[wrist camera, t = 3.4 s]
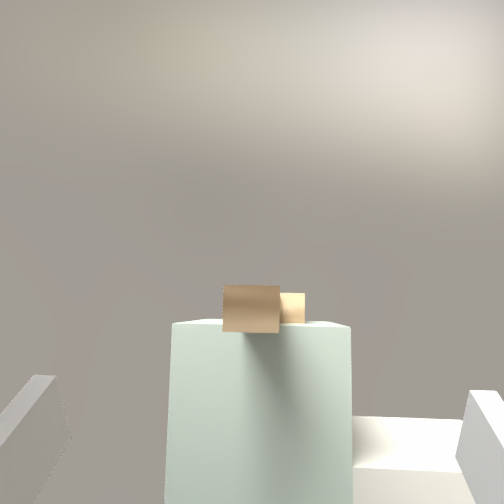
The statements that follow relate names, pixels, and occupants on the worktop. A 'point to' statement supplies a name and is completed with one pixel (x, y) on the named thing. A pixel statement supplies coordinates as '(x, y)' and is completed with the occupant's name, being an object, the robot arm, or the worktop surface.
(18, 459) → the robot arm
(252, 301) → the t-shaped wooden block
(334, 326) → the tall pale green block
